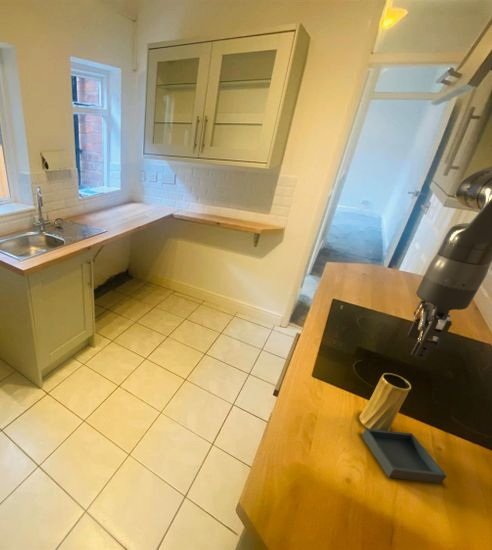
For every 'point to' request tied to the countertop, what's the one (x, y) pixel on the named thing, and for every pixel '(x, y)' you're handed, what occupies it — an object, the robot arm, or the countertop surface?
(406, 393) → the vase
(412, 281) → the countertop surface
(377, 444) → the tray
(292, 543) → the countertop surface
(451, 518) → the countertop surface
